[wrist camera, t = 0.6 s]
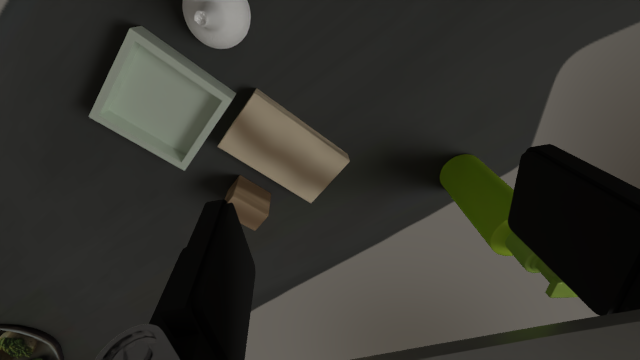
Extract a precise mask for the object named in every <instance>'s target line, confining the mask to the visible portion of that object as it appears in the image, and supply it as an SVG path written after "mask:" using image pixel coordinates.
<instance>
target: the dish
mask: <svg viewBox="0 0 640 360" xmlns="http://www.w3.org/2000/svg"><path fill="white" fill-rule="evenodd" d="M235 95H236V93H235V92H234V91H232V90H231V89H229V88H228V87H227V86H225V85H224V84H222V83H221V82H220V81H218V80H217V79H215V78H214V77H213V76H211V75H210V74H208V73H207V72H205V71H204V70H203V69H201V68H200V67H198V66H197V65H196V64H194V63H193V62H191V61H190V60H189V59H187V58H186V57H184V56H183V55H182V54H180V53H179V52H177V51H176V50H175V49H173V48H172V47H170V46H169V45H168V44H166V43H165V42H163V41H162V40H161V39H159V38H158V37H156V36H155V35H154V34H152V33H151V32H149V31H148V30H147V29H145V28H144V27H142V26H138V27H133V28H130V29H129V31H128V33H127V35H126V37H125V40H124V42H123V44H122V46H121V48H120V50H119V52H118V55H117V57H116V59H115V61H114V63H113V65H112V67H111V70H110V72H109V74H108V76H107V78H106V80H105V82H104V85H103V87H102V89H101V91H100V93H99V95H98V97H97V100H96V102H95V104H94V106H93V108H92V110H91V112H90V114H89V117H90V118H92V119H93V120H95V121H97V122H99V123H100V124H102V125H104V126H106V127H108V128H109V129H111V130H113V131H115V132H116V133H118V134H120V135H122V136H124V137H125V138H127V139H129V140H131V141H132V142H134V143H136V144H138V145H140V146H141V147H143V148H145V149H147V150H148V151H150V152H152V153H154V154H156V155H157V156H159V157H161V158H163V159H164V160H166V161H168V162H170V163H172V164H173V165H175V166H177V167H179V168H181V169H182V170H184V171H185V169H186V168H187V166H188V165H189V164H190V162H191V161H192V159H193V158H194V156H195V155H196V153H197V152H198V150H199V149H200V147H201V146H202V144H203V143H204V141H205V140H206V138H207V137H208V135H209V134H210V133H211V131H212V130H213V128H214V127H215V125H216V124H217V122H218V121H219V119H220V118H221V116H222V115H223V113H224V112H225V110H226V109H227V107H228V106H229V104H230V103H231V101H232V100H233V98H234V97H235Z"/></svg>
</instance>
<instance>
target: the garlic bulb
mask: <svg viewBox="0 0 640 360" xmlns="http://www.w3.org/2000/svg"><path fill="white" fill-rule="evenodd" d="M182 8H183V14H184V18H185V21H186V24H187V26H188V27H189V29H190V31H191V32H192V33H193V35H194V36H195V37H196V38H197V39H198V40H200V41H201V42H202V43H204V44H205V45H207V46H210V47H213V48H216V49H227V48H231V47H233V46H235V45H237V44H238V43H240V42H241V41H242V40H243V39H244V37H245V36H246V34H247V32H248V29H249V26H250V19H251V15H250V7H249V4H248V1H247V0H183V4H182Z"/></svg>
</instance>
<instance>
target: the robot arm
mask: <svg viewBox="0 0 640 360" xmlns="http://www.w3.org/2000/svg"><path fill="white" fill-rule="evenodd" d="M508 225H509V228H510V229H511V231H512V232H513V233H514V234H515V235H516V236H517V237H518V238H519V239H520V240H521V241H522V242H523V243H524V244H525V245H527V246H528V247H529V248H530V249H531V250H532V251H533V252H534V253H535V254H536V255H537V256H538V257H539V258H540V259H541V260H542V261H543V262H544V263H545V264H546V265H547V266H548V267H549V268H550V269H551V270H552V271H553V272H554V273H555V274H556V275H557V276H558V277H559V278H560V279H561V280H562V281H563V282H564V283H565V284H566V285H567V286H568V287H569V288H570V289H571V290H572V291H573V292H574V293H575V294H576V295H577V296H578V297H579V298H580V299H581V300H582V301H583V302H584V303H585V304H586V305H587V306H588V307H589V308H590V309H591V310H592V311H594V312H595V313H596V314H598V315H600V316H597V317H591V318H585V319H579V320H573V321H567V322H562V323H556V324H550V325H545V326H538V327H533V328H527V329H521V330H516V331H510V332H505V333H498V334H493V335H487V336H481V337H476V338H470V339H464V340H458V341H453V342H447V343H441V344H435V345H430V346H424V347H419V348H413V349H407V350H402V351H396V352H392V353H385V354H380V355H374V356H369V357H363V358H358V359H352V360H640V189H638V188H636V187H634V186H632V185H630V184H628V183H626V182H624V181H623V180H620V179H619V178H617V177H615V176H613V175H611V174H609V173H607V172H605V171H603V170H601V169H599V168H597V167H595V166H593V165H591V164H589V163H587V162H585V161H583V160H581V159H579V158H577V157H575V156H573V155H571V154H569V153H567V152H565V151H563V150H561V149H559V148H558V147H556V146H554V145H551V144H548V145H541V146H535V147H530V148H528V149H527V150H526V152H525V153H524V154H523V155H522V156H521V159H520V164H519V169H518V174H517V178H516V183H515V188H514V192H513V197H512V202H511V207H510V211H509V216H508ZM254 281H255V265H254V261H253V258H252V256H251V253H250V250H249V247H248V244H247V241H246V238H245V235H244V233H243V230H242V227H241V224H240V221H239V218H238V215H237V212H236V209H235V207H234V204H233V203H227V201H226V200H225V199H223V200H217V201H211V202H207V203H206V204H205V206H204V208H203V210H202V213H201V215H200V217H199V220H198V222H197V224H196V227H195V229H194V231H193V233H192V236H191V238H190V240H189V243H188V245H187V247H186V248H184V249H183V250H182V252H181V253H180V256H179V258H178V260H177V262H176V264H175V267H174V269H173V271H172V273H171V276H170V278H169V280H168V282H167V285H166V287H165V289H164V291H163V293H162V296H161V298H160V300H159V302H158V305H157V307H156V309H155V311H154V314H153V316H152V318H151V320H150V322H149V324H144V325H139V326H136V327H133V328H130V329H128V330H127V331H125V332H123V333H121V334H120V335H118V336H117V337H116V338H114V339H113V340H112V341H111V342H109V343H108V344H107V345H106V346H105V348H104V349H103V350H102V351H101V352H100V353H99V355H98V356H97V358H96V359H95V360H244V359H245V351H246V343H247V335H248V327H249V320H250V312H251V304H252V297H253V289H254Z"/></svg>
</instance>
